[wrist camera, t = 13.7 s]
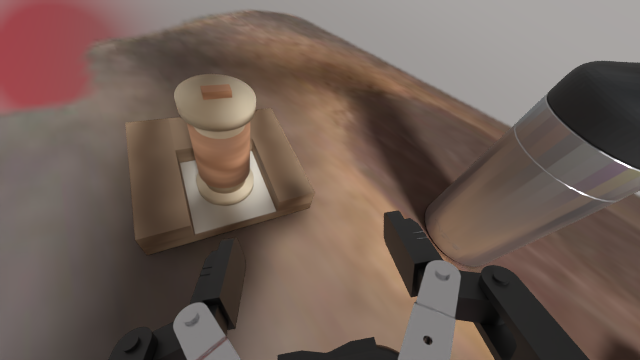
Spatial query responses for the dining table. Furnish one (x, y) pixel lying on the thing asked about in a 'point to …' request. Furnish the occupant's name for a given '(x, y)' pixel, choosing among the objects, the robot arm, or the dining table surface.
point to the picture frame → (182, 192)
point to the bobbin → (219, 134)
